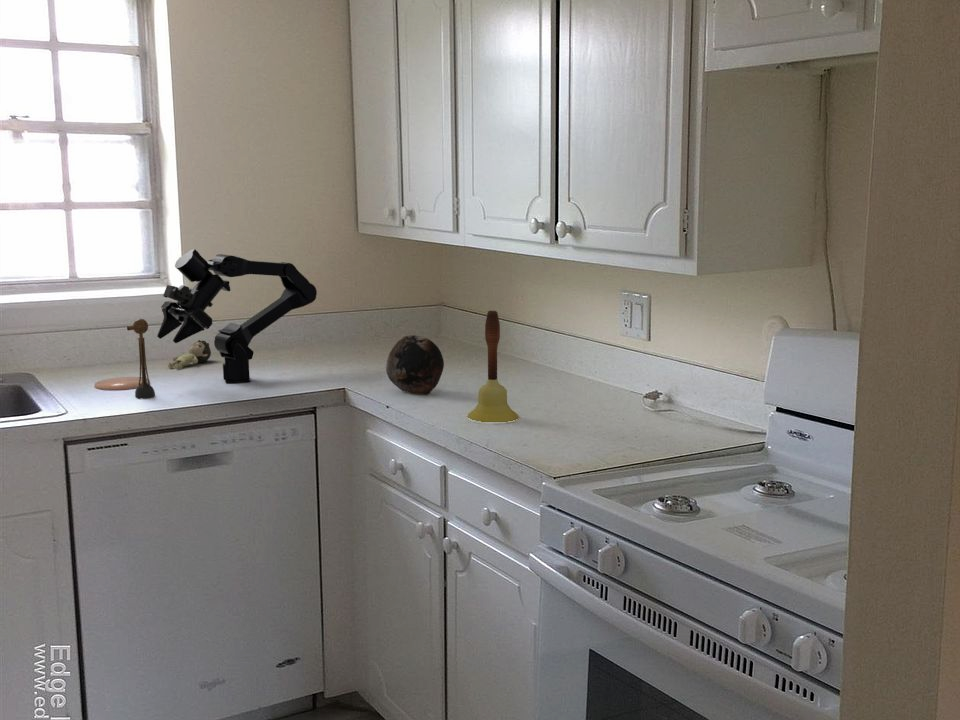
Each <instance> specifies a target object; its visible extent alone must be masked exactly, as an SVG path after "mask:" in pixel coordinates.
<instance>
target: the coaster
mask: <svg viewBox="0 0 960 720" xmlns="http://www.w3.org/2000/svg"><path fill="white" fill-rule="evenodd" d="M139 378H140V376H120V377H119V376H118V377H111V378H105V379H102V380H98V381H96V382H94V388H95V389H98V390H102V391H124V390H133V389H136V388H137V387H138V386H139ZM146 379H147V377H146ZM149 382H150V379H149ZM141 383H142V376H141V382H140V384H141ZM147 383H148V379H147ZM148 384H149V383H148Z"/></svg>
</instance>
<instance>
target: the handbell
mask: <svg viewBox="0 0 960 720" xmlns="http://www.w3.org/2000/svg"><path fill="white" fill-rule="evenodd" d="M484 323H485V324H484V329H485V330H484V340H485V343H486V345H487V380H486V383H485V384H483V385H481V386H480V387H479V389H478V396H477V404H476V406H475V408H473V409H472V410H471V411H470V412H469V413H468V414H467V415H468V416H467V415H466V417H468V418H470V419H472V420H476V421H481V422H508V421H513V420H516V419H518V418H519V419H520V416H519V414H518V413H516V412H515V411H514V410H513V409H512V408H511V407H510V405H509V403H508V393H507V388H506V387H505V386H503V385H501V384H500V382H499V380H498V348H499V347H498V345H499V343H500V340H501V339H500V337H501V333H500V332H501V331H500V330H501V328H500V327H501V326H500V319H499V314H498V311H497V310H488V312H487V313H486V319H485V322H484ZM519 419H518V420H519Z"/></svg>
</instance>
